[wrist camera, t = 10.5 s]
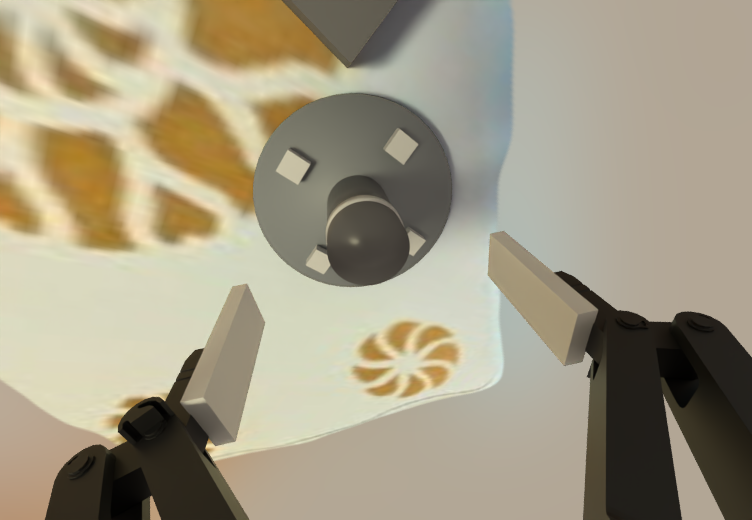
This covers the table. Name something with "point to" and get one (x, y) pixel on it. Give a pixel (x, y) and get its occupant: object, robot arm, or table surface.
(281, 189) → the plate
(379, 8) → the camera body block
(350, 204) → the grey rounded cylinder
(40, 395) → the table surface
